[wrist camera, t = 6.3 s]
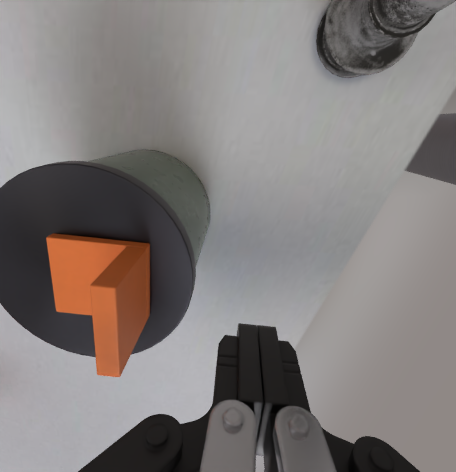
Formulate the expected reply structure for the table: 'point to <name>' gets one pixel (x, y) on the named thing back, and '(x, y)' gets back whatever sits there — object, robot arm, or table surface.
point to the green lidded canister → (101, 226)
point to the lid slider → (103, 291)
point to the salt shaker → (371, 33)
